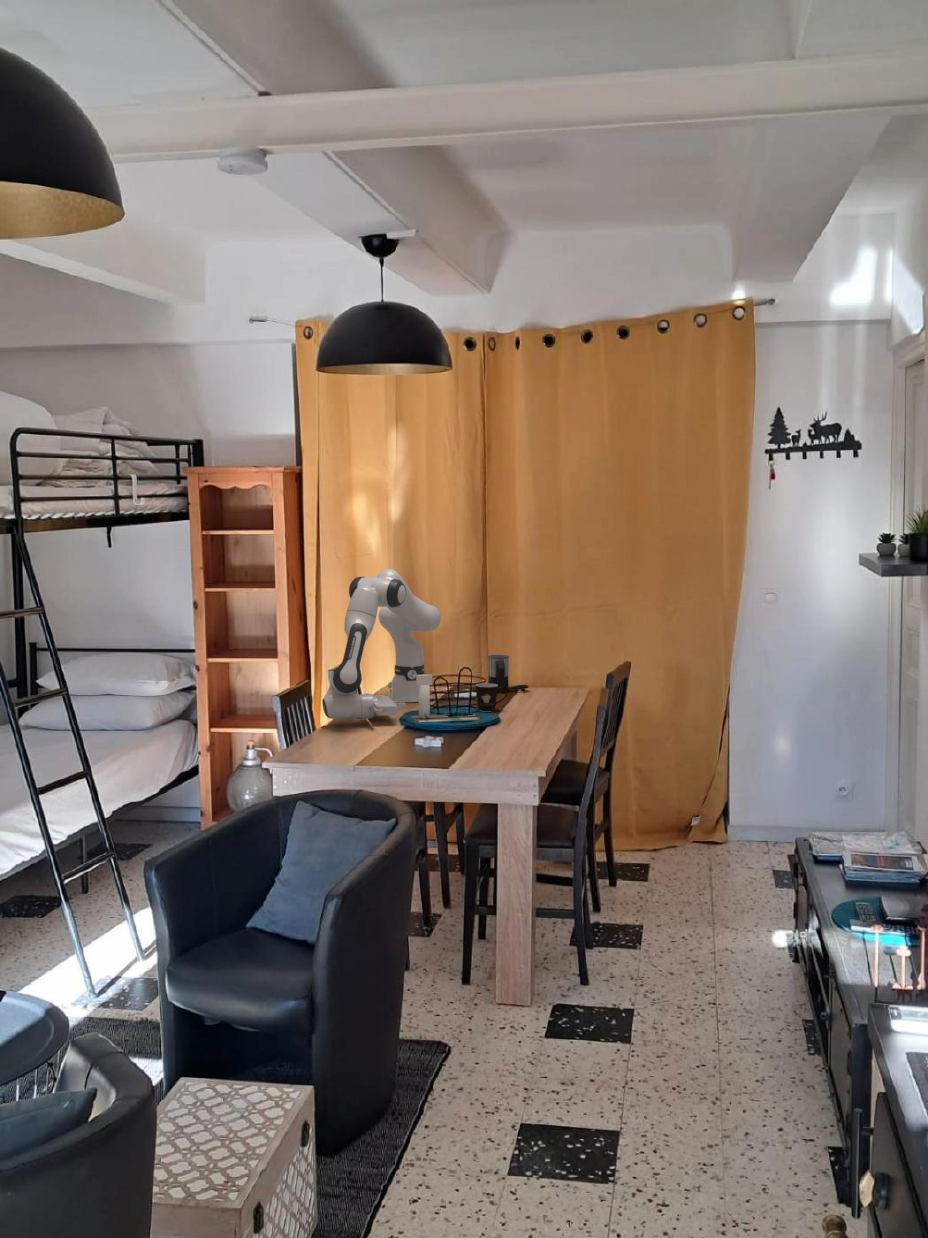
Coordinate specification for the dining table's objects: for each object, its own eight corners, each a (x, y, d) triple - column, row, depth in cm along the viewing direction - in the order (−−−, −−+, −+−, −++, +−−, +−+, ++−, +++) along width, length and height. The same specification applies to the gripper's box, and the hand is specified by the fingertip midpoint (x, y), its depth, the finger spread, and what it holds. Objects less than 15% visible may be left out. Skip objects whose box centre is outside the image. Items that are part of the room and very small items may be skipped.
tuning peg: (415, 716, 440) (415, 674, 438) (430, 716, 441) (430, 674, 439) (419, 720, 433) (419, 677, 431) (434, 719, 434) (434, 677, 432)
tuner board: (410, 720, 444) (410, 715, 443) (473, 717, 449) (473, 713, 449) (416, 726, 432) (416, 721, 432) (481, 723, 437) (481, 719, 437)
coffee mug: (471, 711, 461) (471, 685, 459) (481, 708, 468) (481, 682, 467) (498, 714, 455) (498, 688, 454) (508, 710, 463) (508, 685, 462)
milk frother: (483, 689, 511) (483, 654, 509) (516, 687, 517) (517, 652, 515) (498, 694, 498) (498, 659, 496) (532, 692, 504) (532, 657, 503)
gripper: (372, 702, 423) (410, 701, 426) (364, 692, 443) (401, 691, 446) (372, 720, 424) (410, 719, 427) (364, 709, 444) (401, 708, 447)
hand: (405, 704), depth 437 cm, fingers closed
